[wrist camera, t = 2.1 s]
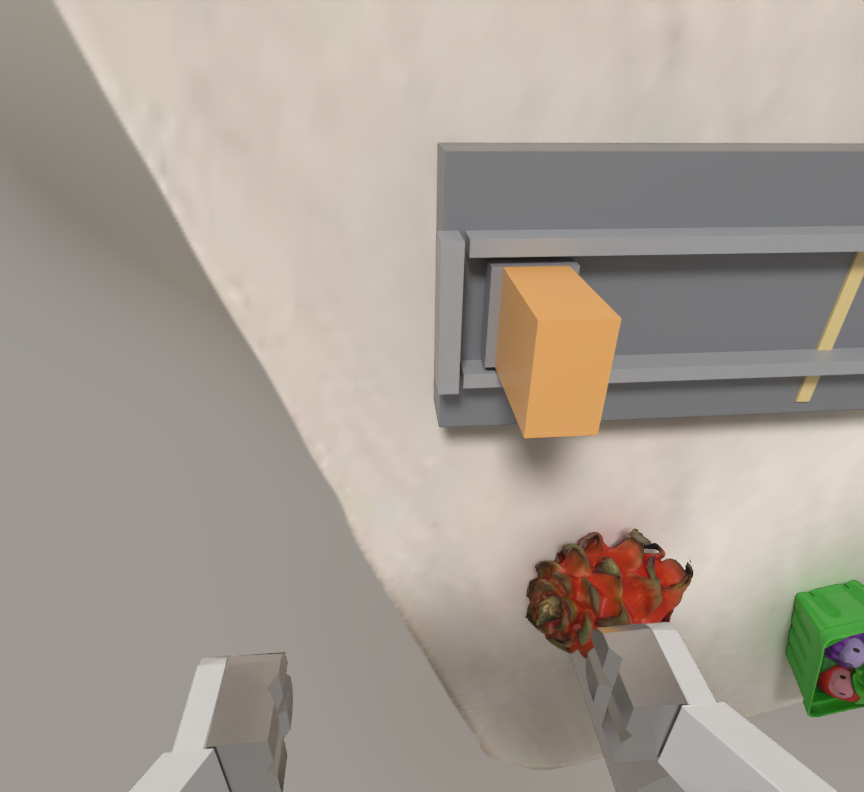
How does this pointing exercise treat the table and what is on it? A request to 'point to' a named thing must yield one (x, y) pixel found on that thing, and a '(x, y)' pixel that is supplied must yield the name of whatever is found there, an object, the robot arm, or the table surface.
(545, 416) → the fader
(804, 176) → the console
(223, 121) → the table surface
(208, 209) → the table surface
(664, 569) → the dragon fruit
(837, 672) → the fruit basket
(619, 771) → the cup
